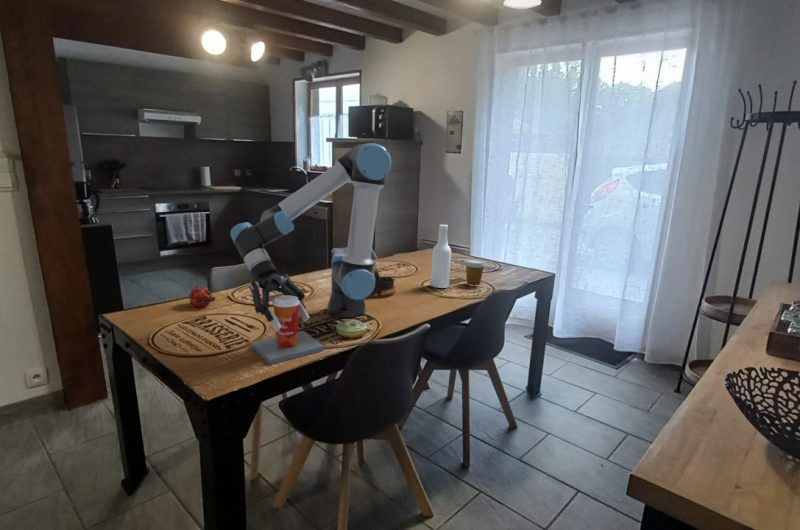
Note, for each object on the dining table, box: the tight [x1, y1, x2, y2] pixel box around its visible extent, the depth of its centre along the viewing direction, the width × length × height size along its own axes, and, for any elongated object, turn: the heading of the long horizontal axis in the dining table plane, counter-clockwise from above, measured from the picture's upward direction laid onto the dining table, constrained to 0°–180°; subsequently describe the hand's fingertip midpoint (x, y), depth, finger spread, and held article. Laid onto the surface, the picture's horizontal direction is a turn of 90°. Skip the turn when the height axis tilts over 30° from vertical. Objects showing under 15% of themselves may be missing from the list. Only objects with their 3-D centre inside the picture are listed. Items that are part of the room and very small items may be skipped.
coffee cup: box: [272, 294, 300, 348], centre depth 142 cm, size 8×8×15 cm
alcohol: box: [430, 224, 452, 289], centre depth 215 cm, size 9×9×30 cm
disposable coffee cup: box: [464, 258, 486, 285], centre depth 223 cm, size 10×10×12 cm
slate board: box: [250, 330, 325, 365], centre depth 144 cm, size 18×15×2 cm
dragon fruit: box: [188, 285, 216, 309], centre depth 178 cm, size 8×8×12 cm
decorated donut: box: [335, 319, 368, 339], centre depth 158 cm, size 10×11×4 cm
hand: (293, 324), depth 140 cm, fingers open, 10 cm apart
